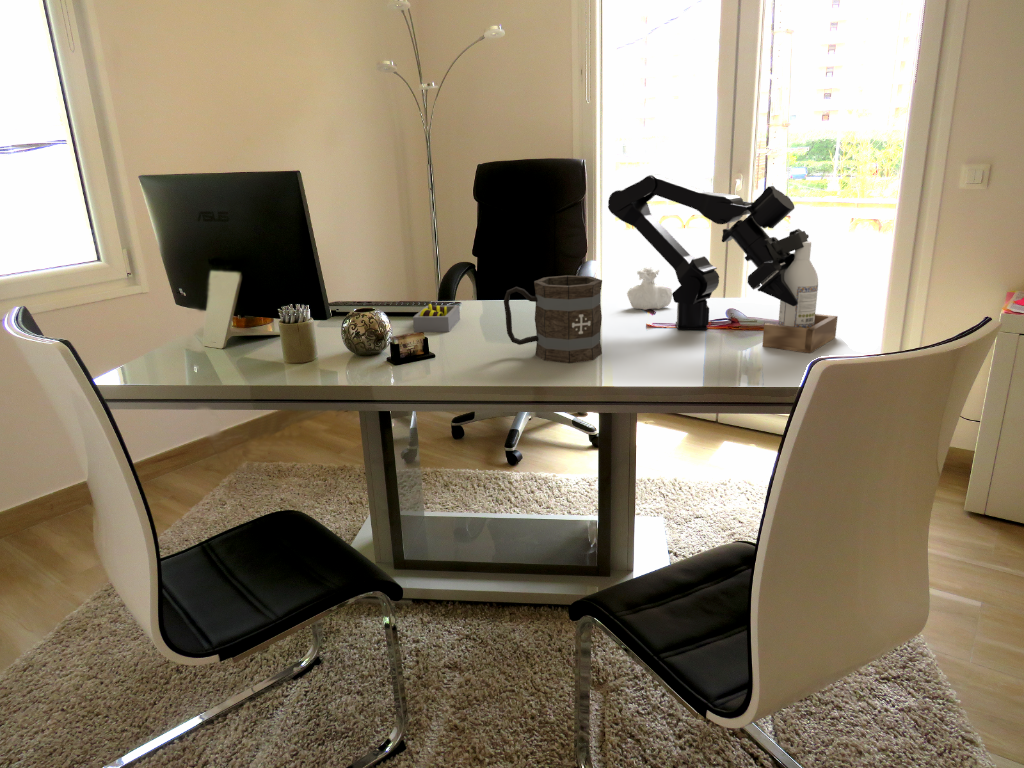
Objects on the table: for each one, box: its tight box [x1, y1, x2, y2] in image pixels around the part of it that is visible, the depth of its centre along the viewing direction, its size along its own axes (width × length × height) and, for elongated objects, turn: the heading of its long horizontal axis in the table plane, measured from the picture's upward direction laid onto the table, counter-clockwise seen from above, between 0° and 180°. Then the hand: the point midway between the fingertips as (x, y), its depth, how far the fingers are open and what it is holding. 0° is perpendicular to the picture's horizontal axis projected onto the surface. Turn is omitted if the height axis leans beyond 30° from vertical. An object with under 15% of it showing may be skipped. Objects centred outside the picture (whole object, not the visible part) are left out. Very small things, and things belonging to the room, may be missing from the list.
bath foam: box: [777, 240, 819, 328], centre depth 149 cm, size 7×7×20 cm
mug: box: [503, 274, 603, 364], centre depth 146 cm, size 20×14×15 cm
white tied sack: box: [626, 267, 673, 310], centre depth 189 cm, size 12×8×11 cm
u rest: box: [761, 313, 838, 354], centre depth 151 cm, size 10×15×5 cm, turn 140°
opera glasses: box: [420, 303, 447, 316], centre depth 176 cm, size 10×5×5 cm, turn 173°
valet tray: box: [412, 305, 461, 333], centre depth 176 cm, size 8×13×4 cm, turn 173°
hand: (804, 301), depth 149 cm, fingers open, 9 cm apart
